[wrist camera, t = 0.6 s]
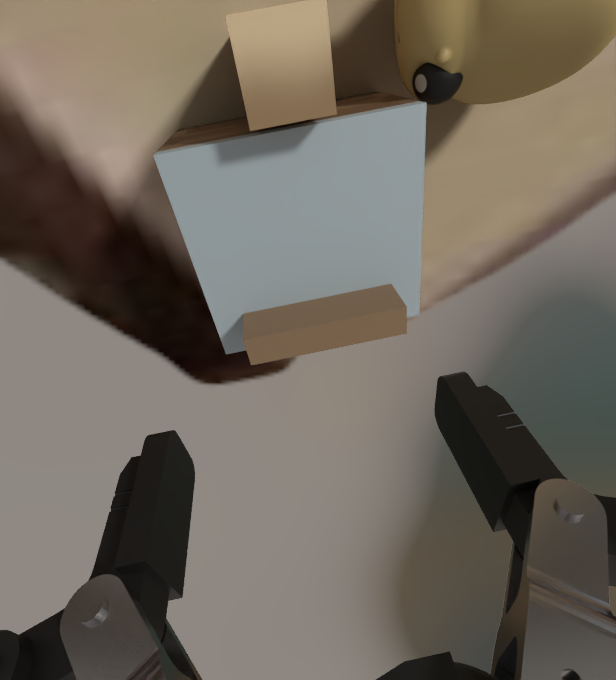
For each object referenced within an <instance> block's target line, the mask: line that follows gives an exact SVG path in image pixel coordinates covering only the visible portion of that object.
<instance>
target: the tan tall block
mask: <svg viewBox="0 0 616 680" xmlns="http://www.w3.org/2000/svg"><path fill="white" fill-rule="evenodd" d="M225 17H226V21H227V26H228V31H229V35H230V40H231V45H232V49H233V54H234V59H235V63H236V68H237V72H238V77H239V82H240V86H241V91H242V96H243V100H244V105H245V110H246V114H247V119H248V123H249V128H250V131H253V130H258V129H264V128H269V127H274V126H279V125H284V124H289V123H295V122H300V121H305V120H310V119H315V118H320V117H326V116H331V115H336V114H337V110H336V99H335V88H334V77H333V65H332V54H331V43H330V32H329V21H328V9H327V0H305V1H300V2H295V3H289V4H284V5H279V6H273V7H268V8H262V9H257V10H252V11H246V12H241V13H236V14H230V15H225Z"/></svg>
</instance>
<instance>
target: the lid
mask: <svg viewBox="0 0 616 680" xmlns="http://www.w3.org/2000/svg"><path fill="white" fill-rule="evenodd" d="M426 108H427V103H426V102H421V101H417V102H412V103H407V104H402V105H396V106H391V107H386V108H381V109H376V110H370V111H365V112H360V113H355V114H350V115H345V116H339V117H334V118H329V119H324V120H319V121H314V122H308V123H303V124H298V125H293V126H288V127H283V128H277V129H272V130H267V131H262V132H257V133H252V134H246V135H241V136H236V137H231V138H226V139H221V140H215V141H210V142H205V143H200V144H195V145H189V146H184V147H179V148H174V149H169V150H164V151H158V152H156V153H155V154H154V155H153V157H154V159H155V162H156V165H157V168H158V170H159V173H160V176H161V179H162V181H163V184H164V187H165V189H166V192H167V195H168V198H169V200H170V203H171V206H172V208H173V211H174V214H175V217H176V219H177V222H178V225H179V228H180V230H181V233H182V236H183V238H184V241H185V244H186V247H187V249H188V252H189V255H190V258H191V260H192V263H193V266H194V268H195V271H196V274H197V277H198V279H199V282H200V285H201V287H202V290H203V293H204V296H205V298H206V301H207V304H208V307H209V309H210V312H211V315H212V317H213V320H214V323H215V326H216V328H217V331H218V334H219V337H220V339H221V342H222V345H223V347H224V350H225V353H226V354H231V353H236V352H240V351H245V350H246V351H247V354H248V357H249V360H250V363H251V365H256V364H260V363H265V362H270V361H275V360H280V359H285V358H290V357H294V356H299V355H304V354H309V353H314V352H319V351H324V350H328V349H333V348H338V347H343V346H348V345H353V344H358V343H362V342H367V341H372V340H377V339H382V338H387V337H391V336H396V335H401V334H406V333H407V332H406V331H407V317H411V316H416V315H419V307H420V279H421V250H422V222H423V193H424V165H425V137H426Z"/></svg>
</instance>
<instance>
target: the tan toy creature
mask: <svg viewBox="0 0 616 680" xmlns="http://www.w3.org/2000/svg"><path fill="white" fill-rule="evenodd" d="M394 25H395V43H396V54H397V62H398V67H399V71H400V75H401V78H402V80H403V82H404V84H405V86H406V87H407V89H408V90H409V91H410V93H411V94H412V95H414V96H415V97H416V98H417V99H419V100H420V101H421V102H426V103H427V104H430V105H435V104H440V103H443V102H445V101H447V100H449V99H450V98H453V99H455V100H457V101H460V102H463V103H468V104H491V103H498V102H504V101H508V100H513V99H516V98H520V97H523V96H527V95H530V94H532V93H535V92H538V91H540V90H543V89H545V88H548V87H550V86H552V85H554V84H556V83H558V82H560V81H562V80H564V79H566V78H568V77H569V76H571V75H573V74H574V73H576V72H577V71H579V70H580V69H582V68H583V67H584V66H586V65H587V64H588V63H589V62H591V61H592V60H593V59H594V58H595V57H596V56H597V55H598V54H599V53H600V52H601V51H602V50H603V49H604V48H605V47H606V46H607V45H608V44H609V43H610V42H611V40H612V39H613V38H614V37H615V35H616V0H394Z"/></svg>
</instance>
